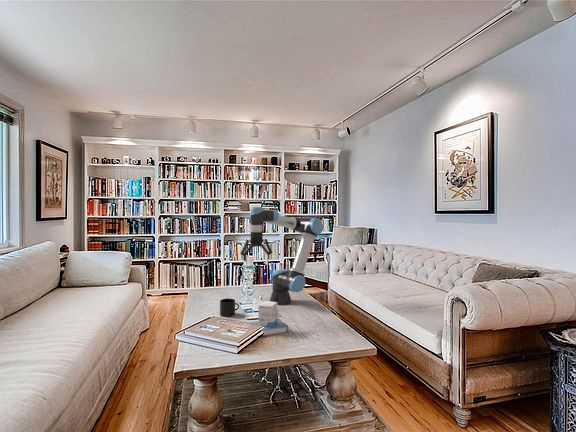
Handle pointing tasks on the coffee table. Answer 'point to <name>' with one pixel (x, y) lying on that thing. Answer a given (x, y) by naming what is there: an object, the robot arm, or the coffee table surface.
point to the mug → (227, 307)
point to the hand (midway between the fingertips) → (256, 265)
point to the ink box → (268, 314)
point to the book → (273, 328)
